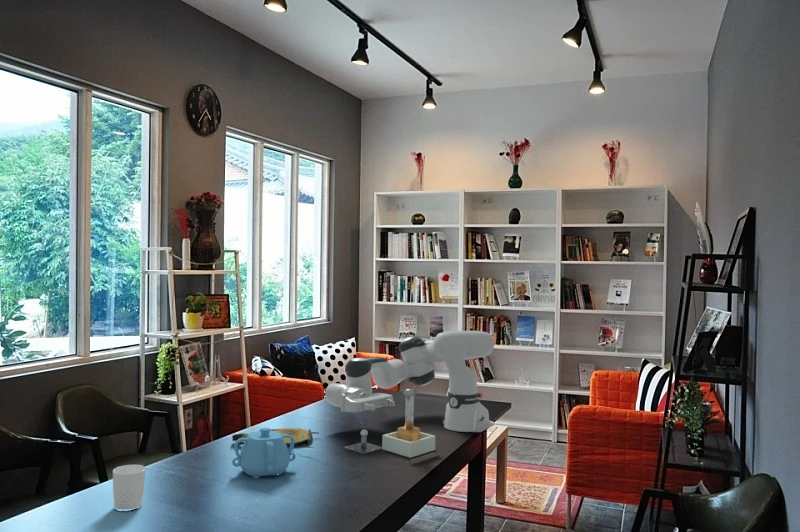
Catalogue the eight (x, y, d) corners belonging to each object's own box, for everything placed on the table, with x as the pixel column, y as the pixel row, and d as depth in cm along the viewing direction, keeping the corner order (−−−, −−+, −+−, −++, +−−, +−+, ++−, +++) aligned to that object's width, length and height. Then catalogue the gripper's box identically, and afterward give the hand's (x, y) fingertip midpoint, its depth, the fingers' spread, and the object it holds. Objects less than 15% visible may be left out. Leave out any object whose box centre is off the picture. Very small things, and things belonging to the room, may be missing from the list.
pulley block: (237, 420, 233) (319, 423, 233) (237, 435, 234) (319, 438, 234) (226, 437, 219) (313, 440, 219) (226, 453, 220) (313, 456, 220)
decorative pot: (225, 474, 194) (226, 430, 194) (261, 460, 208) (261, 419, 208) (267, 485, 186) (268, 438, 186) (301, 469, 201) (302, 426, 200)
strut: (407, 446, 225) (409, 387, 225) (419, 450, 221) (421, 389, 221) (397, 449, 221) (398, 389, 221) (409, 453, 217) (410, 391, 217)
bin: (407, 445, 230) (407, 428, 230) (434, 453, 222) (435, 436, 222) (382, 452, 221) (382, 435, 221) (410, 461, 212) (410, 443, 212)
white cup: (118, 501, 171) (118, 464, 171) (148, 501, 171) (149, 464, 171) (107, 513, 163) (108, 474, 163) (138, 513, 164) (139, 474, 164)
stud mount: (364, 445, 229) (364, 424, 229) (384, 451, 222) (384, 429, 222) (343, 450, 222) (343, 429, 222) (363, 457, 215) (363, 434, 215)
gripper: (377, 403, 246) (403, 410, 237) (337, 412, 231) (364, 419, 222) (377, 387, 246) (404, 393, 237) (337, 394, 231) (364, 401, 222)
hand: (384, 406), depth 229 cm, fingers open, 8 cm apart
